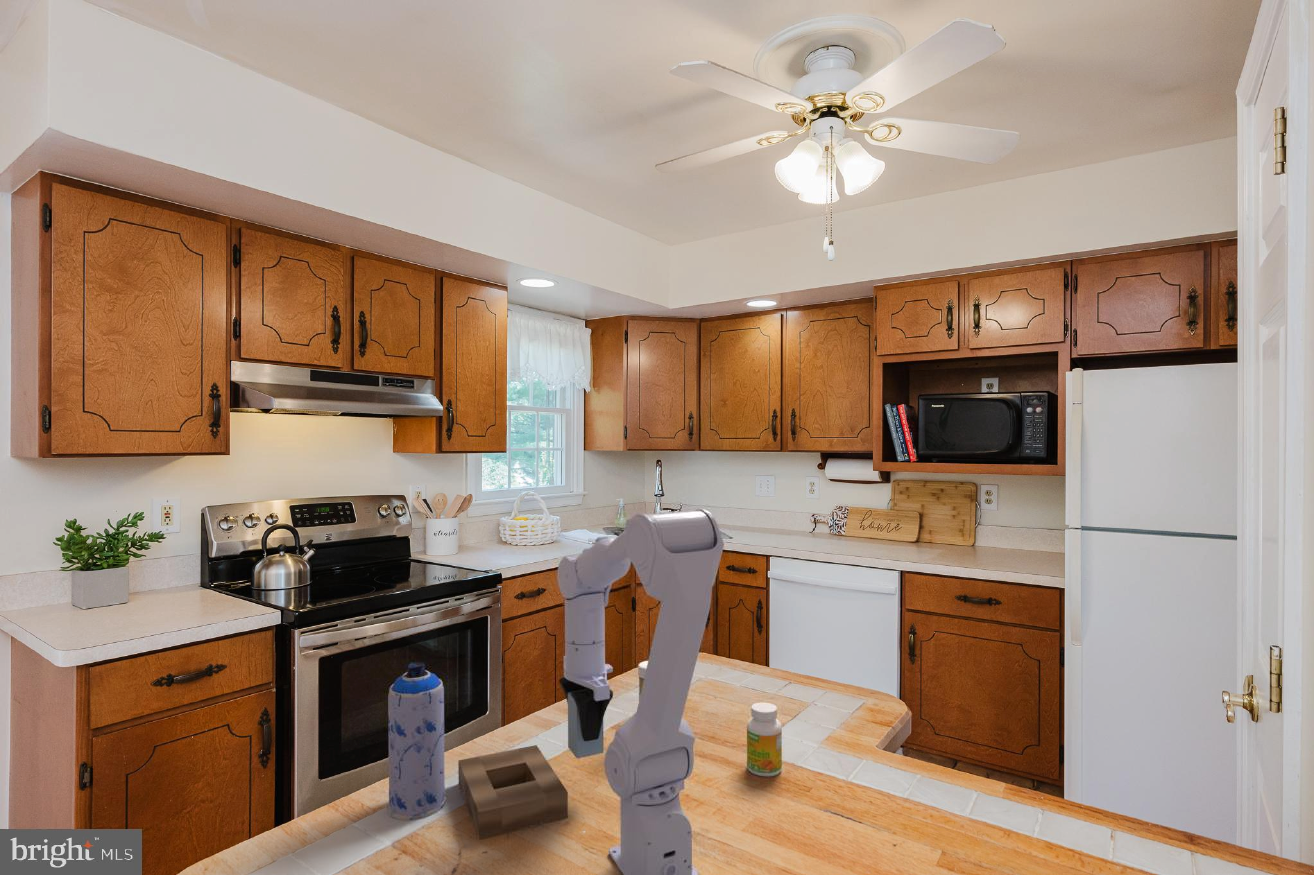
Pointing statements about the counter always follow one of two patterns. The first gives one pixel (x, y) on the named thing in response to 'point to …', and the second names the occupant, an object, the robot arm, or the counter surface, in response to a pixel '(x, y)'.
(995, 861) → the counter surface
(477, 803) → the walnut socket holder
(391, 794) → the aerosol can
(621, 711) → the counter surface
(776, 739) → the supplement bottle
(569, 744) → the slate peg
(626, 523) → the robot arm
